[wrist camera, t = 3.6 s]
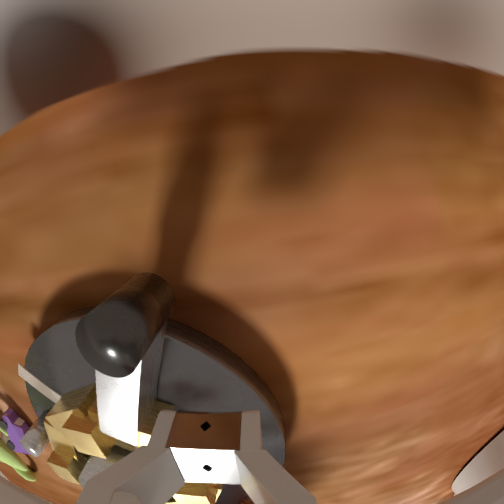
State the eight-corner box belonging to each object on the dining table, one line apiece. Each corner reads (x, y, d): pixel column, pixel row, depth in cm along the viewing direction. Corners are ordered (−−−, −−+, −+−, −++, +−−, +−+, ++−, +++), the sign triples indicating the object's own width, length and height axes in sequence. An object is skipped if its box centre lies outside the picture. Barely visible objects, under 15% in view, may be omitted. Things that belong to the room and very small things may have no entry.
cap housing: (329, 358, 15) (359, 451, 8) (244, 505, 19) (239, 562, 12) (26, 263, 14) (-49, 299, 8) (54, 440, 18) (24, 484, 12)
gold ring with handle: (206, 502, 16) (199, 545, 12) (75, 456, 15) (54, 491, 11) (283, 309, 11) (292, 370, 7) (53, 238, 11) (-9, 262, 7)
